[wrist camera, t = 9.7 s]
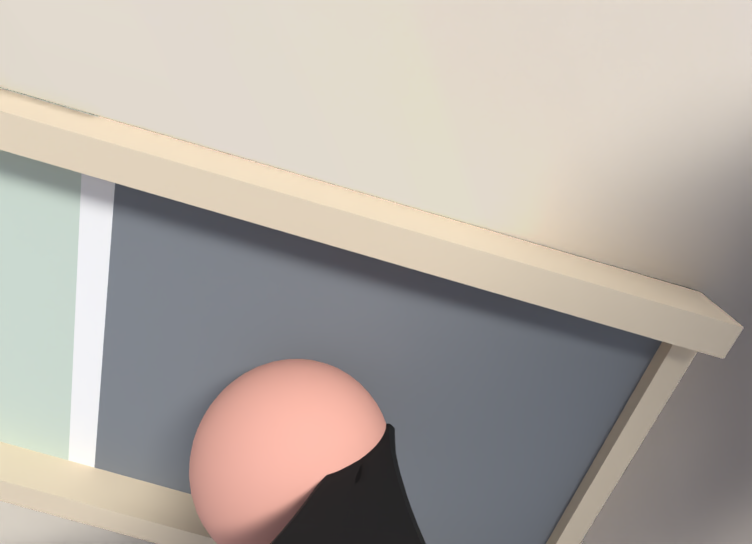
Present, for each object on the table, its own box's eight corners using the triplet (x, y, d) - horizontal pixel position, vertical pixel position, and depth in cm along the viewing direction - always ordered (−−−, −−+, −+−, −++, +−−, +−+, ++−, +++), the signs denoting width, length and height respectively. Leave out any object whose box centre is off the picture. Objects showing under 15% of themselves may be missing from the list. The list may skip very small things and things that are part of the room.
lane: (699, 292, 12) (804, 376, 9) (526, 589, 16) (553, 721, 13) (-291, 2, 12) (-576, -25, 8) (-208, 386, 16) (-375, 470, 13)
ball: (328, 585, 8) (114, 449, 9) (326, 639, 11) (167, 533, 12) (438, 373, 11) (264, 291, 12) (411, 464, 14) (275, 392, 15)
